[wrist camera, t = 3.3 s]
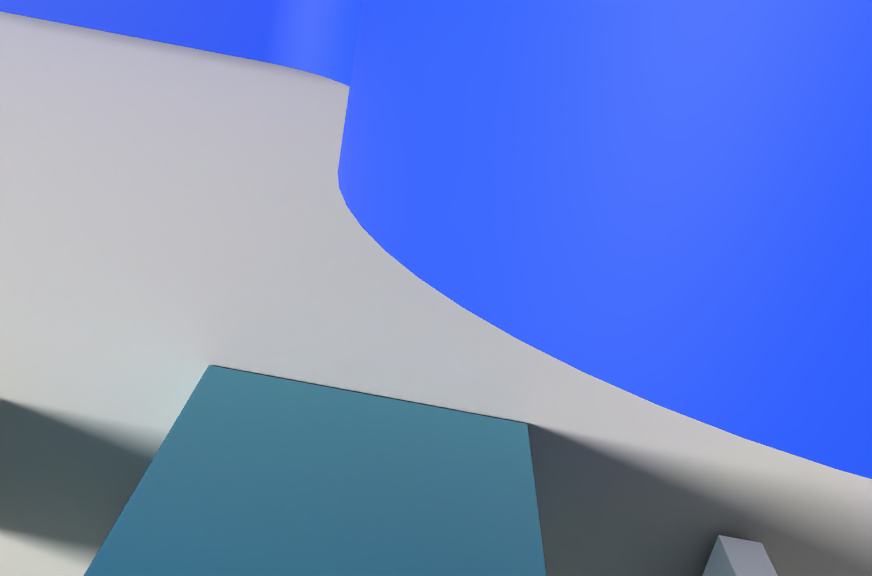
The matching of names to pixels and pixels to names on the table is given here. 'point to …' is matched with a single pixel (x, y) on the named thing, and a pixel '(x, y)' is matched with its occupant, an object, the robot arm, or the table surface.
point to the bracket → (607, 181)
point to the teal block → (327, 489)
